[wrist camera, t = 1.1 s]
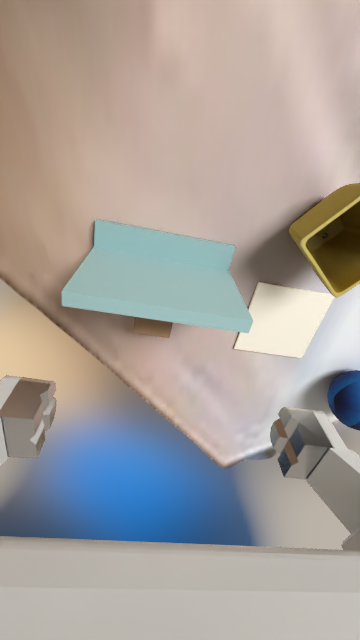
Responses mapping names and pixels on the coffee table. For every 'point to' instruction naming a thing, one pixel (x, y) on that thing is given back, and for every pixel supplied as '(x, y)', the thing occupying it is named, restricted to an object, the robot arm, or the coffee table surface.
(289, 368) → the coffee table surface
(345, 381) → the bomb
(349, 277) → the flower pot
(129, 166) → the coffee table surface
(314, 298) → the pad
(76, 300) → the screen
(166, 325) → the brown block
